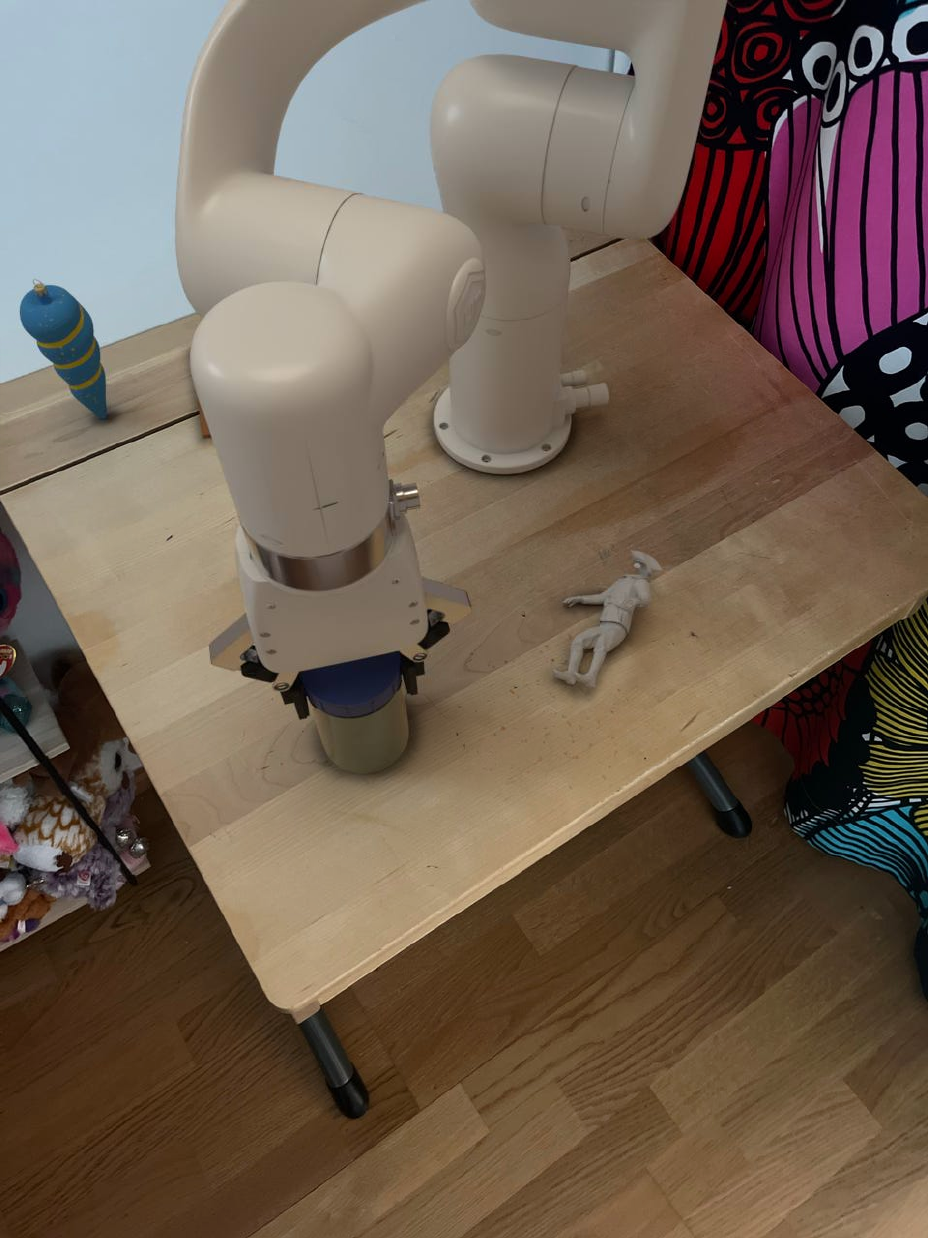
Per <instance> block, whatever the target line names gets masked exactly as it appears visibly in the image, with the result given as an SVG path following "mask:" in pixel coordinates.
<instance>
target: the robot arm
mask: <svg viewBox="0 0 928 1238" xmlns="http://www.w3.org/2000/svg"><path fill="white" fill-rule="evenodd" d="M428 1H429V0H227V1H226V2H225V4H224V6H223V8H222V10H221V12H220V13H219V15H218V17H217V19H216V20H215V23H214V24H213V26H212V28H211V29H210V32H209V34H208V35H207V38H206V40H205V41H204V43H203V45H202V46H201V49H200V51H199V54H198V56H197V59H196V62H195V65H194V67H193V70H192V73H191V77H190V80H189V84H188V87H187V90H186V91H187V92H186V96H185V101H184V108H183V113H182V123H181V133H180V146H179V157H178V168H177V178H176V179H177V180H176V189H175V190H176V192H175V207H174V208H175V209H174V229H175V230H174V248H175V249H174V250H175V260H176V267H177V272H178V276H179V281H180V284H181V287H182V290H183V293H184V295H185V297H186V299H187V301H188V303H189V304H190V305H191V307H192V309H193V310H194V311H195V312H196V314H197V315H198V316H199V317H200V318H201V321H200V322H199V324H198V325H197V327H196V330H195V332H194V334H193V337H192V340H191V345H190V352H189V370H190V374H191V378H192V382H193V386H194V390H195V392H196V395H198V396H197V399H198V398H199V401H200V404H201V407H202V410H203V413H204V416H205V419H206V422H207V425H208V428H209V431H210V434H211V437H210V438H211V440H212V443H213V446H214V449H215V452H216V455H217V459H218V461H219V464H220V467H221V471H222V473H223V476H224V478H225V479H224V480H225V482H226V484H227V487H228V490H229V493H230V496H231V499H232V502H233V506H234V508H235V511H236V513H237V518H238V521H239V526H238V528H237V529H236V532H235V536H234V557H235V567H236V573H237V578H238V584H239V588H240V593H241V597H242V601H243V607H244V610H245V613H243V614H242V615H241V616H240V617H239V618H238V619H237V620H236V621H234V622H233V623H232V624H230V626H228V627H227V628H226V629H225V630H224V631H223V632H221V633H220V634H219V635H218V636H216V637H215V638H214V639H213V640H212V641H211V642H210V643H209V644H208V650H209V651H208V652H209V661H210V664H211V666H213V667H216V668H220V669H224V670H228V671H232V672H236V671H238V672H240V674H241V676H243V677H244V678H248V679H252V680H256V681H260V682H266V683H268V684H270V685H271V689H272V691H274V692H277V693H278V692H279V693H280V696H281V699H282V701H283V704H284V706H287V705H292V704H293V705H294V708H295V711H296V714H297V717H298V720H299V721H300V720H305V719H308V717H309V716H311V713H310V708H309V707H310V706H309V700H308V697H307V696H306V694H304V692H303V689H302V686H301V685H302V684H301V681H300V677H299V671H304V670H309V669H314V668H320V667H325V666H329V665H334V664H339V663H344V662H349V661H353V660H358V659H362V658H367V657H372V656H376V655H381V654H385V653H389V652H394V651H400V654H401V659H402V664H403V672H402V680H403V685H404V688H405V692H406V694H407V695H410V697H411V696H416V695H418V694H419V691H418V680H417V677H420V676H425V675H426V670H425V668H426V667H425V661H426V660H428V659H429V658H430V653H429V650H430V649H432V647H434V646H435V645H436V644H438V642H441V640H442V639H444V638H445V637H446V636H448V635H449V634H450V633H451V627H452V626H456V625H457V624H458V623H459V622H461V621H462V620H463V619H464V618H466V616H468V615H469V614H470V613H471V612H472V611H473V607H472V603H471V600H470V597H469V594H468V591H466V590H464V589H461V588H459V587H455V586H452V585H448V584H445V583H442V582H440V581H436V580H433V579H430V578H427V577H424V576H422V571H421V567H420V562H419V557H418V551H417V547H416V544H415V540H414V535H413V533H412V527H411V526H410V523H409V520H408V517H407V514H408V511H411V510H417V509H421V499H420V493H419V490H418V486H417V483H416V482H411V483H407V484H402V483H401V482H397V483H395V482H394V479H393V478H391V479H389V471H388V463H387V462H388V461H387V453H386V442H385V437H384V435H385V434H384V428H385V424H386V423H387V421H389V419H390V418H391V417H392V416H393V415H394V414H396V412H397V411H398V410H399V409H400V408H401V407H402V406H403V405H404V404H405V403H406V401H407V400H408V399H409V398H410V397H411V396H413V395H414V394H415V393H416V392H417V391H418V390H419V389H420V388H421V387H423V386H424V385H425V384H426V383H427V382H428V381H429V380H430V379H431V378H432V377H433V376H434V375H435V374H437V372H438V371H440V369H442V368H443V366H444V365H446V363H447V362H448V365H449V367H448V368H449V386H447V387H446V388H445V390H444V391H443V392H442V393H441V394H440V396H439V397H438V400H437V401H436V404H435V406H434V412H433V429H434V433H435V438H436V439H437V441H438V443H439V445H440V446H441V448H442V449H443V451H445V452H446V453H447V455H448V456H450V457H451V458H453V460H455V461H456V462H458V463H460V464H462V465H464V466H465V467H467V468H470V469H471V470H475V471H479V472H483V473H488V474H492V475H493V474H494V475H512V474H521V473H525V472H529V471H532V470H534V469H537V468H540V467H541V466H543V465H546V464H548V463H549V462H550V461H552V460H553V459H555V458H556V456H557V455H559V453H560V452H562V450H563V449H564V447H565V445H567V442H568V440H569V437H570V434H571V429H572V428H571V427H572V415H573V414H575V413H576V411H577V409H581V408H585V407H587V408H594V407H600V406H605V405H608V404H609V401H610V393H609V387H608V385H607V384H606V383H605V382H600V383H597V384H595V383H594V384H590V385H587V381H588V380H587V379H588V378H587V377H588V376H587V373H586V370H585V369H580V370H579V369H578V370H572V371H569V372H565V373H561V372H560V371H561V362H562V354H563V343H564V337H565V326H566V317H567V308H568V307H567V306H568V300H569V299H568V297H569V289H570V288H569V287H570V284H571V283H570V281H571V271H572V266H571V265H572V262H571V253H570V247H569V244H568V240H567V237H566V234H565V231H564V229H563V228H565V229H571V230H576V231H581V232H587V233H591V234H596V235H601V236H606V237H610V238H611V237H612V238H616V239H623V240H634V241H638V240H640V241H641V240H646V239H650V238H653V237H655V236H657V235H659V234H660V233H662V232H663V231H664V230H665V229H666V227H667V226H669V224H670V223H671V221H672V220H673V218H674V215H675V213H676V212H677V210H678V207H679V204H680V202H681V199H682V197H683V194H684V191H685V187H686V184H687V180H688V175H689V171H690V168H691V164H692V163H691V162H692V160H693V156H694V155H693V154H694V151H695V146H696V141H697V137H698V132H699V127H700V124H701V118H702V115H703V111H704V105H705V101H706V96H707V92H708V87H709V82H710V80H711V75H712V69H713V66H714V61H715V56H716V52H717V49H718V44H719V39H720V35H721V30H722V25H723V22H724V21H723V20H724V17H725V16H724V15H725V12H726V7H727V3H728V0H469V3H470V6H471V7H472V9H473V11H474V12H475V13H476V15H477V16H479V17H480V18H481V19H482V21H484V22H486V23H488V24H490V25H492V26H494V27H496V28H499V29H502V30H505V31H507V32H511V33H516V34H520V35H524V36H530V37H535V38H539V39H545V40H552V41H557V42H562V43H569V44H576V45H581V46H587V47H594V48H600V49H606V50H611V51H618V52H621V53H623V54H624V55H626V56H627V57H628V58H629V60H630V62H631V64H632V67H633V68H632V69H633V71H634V75H631V74H625V73H624V74H623V73H618V72H613V71H606V70H601V69H595V68H589V67H582V66H579V65H578V64H573V63H566V62H559V61H553V60H547V59H542V58H535V57H530V56H529V57H528V56H523V55H516V54H504V53H501V54H481V55H477V56H473V57H470V58H467V59H464V60H462V61H460V62H459V63H458V64H456V65H455V66H453V68H451V69H450V70H448V72H447V73H446V74H445V76H444V78H443V79H442V80H441V82H440V84H439V85H438V87H437V89H436V92H435V94H434V98H433V101H432V105H431V110H430V116H429V147H430V149H429V150H430V156H431V162H432V167H433V172H434V175H435V181H436V184H437V189H438V193H439V199H440V202H441V203H440V204H441V208H442V211H441V210H437V209H434V208H431V207H426V206H421V205H418V204H413V203H407V202H403V201H397V200H393V199H388V198H383V197H378V196H373V195H368V194H364V193H363V192H358V191H353V190H348V189H344V188H338V187H334V186H328V185H324V184H319V183H313V182H309V181H304V180H299V179H294V178H290V177H285V176H280V175H275V166H276V159H277V151H278V145H279V140H280V135H281V130H282V126H283V123H284V120H285V117H286V114H287V112H288V109H289V106H290V103H291V101H292V100H293V98H294V96H295V95H296V92H297V90H298V89H299V86H300V85H301V83H302V82H303V81H304V79H305V78H306V76H307V75H308V74H309V73H310V71H311V70H312V69H313V68H314V67H315V65H316V64H317V63H318V62H319V61H321V59H322V58H324V57H325V56H326V55H327V53H329V52H330V51H331V50H332V49H333V48H334V47H336V46H337V45H339V44H340V43H342V42H343V41H344V40H346V39H347V38H348V37H350V36H352V35H353V34H356V33H357V32H359V31H361V30H362V29H364V28H367V27H368V26H370V25H372V24H374V23H377V22H378V21H380V20H382V19H385V18H386V17H387V18H388V17H389V16H391V15H394V14H396V13H399V12H401V11H404V10H406V9H408V8H411V7H414V6H417V5H419V4H422V3H425V2H428ZM584 385H585V386H584ZM579 386H584V387H579ZM574 387H579V388H575V389H574Z"/></svg>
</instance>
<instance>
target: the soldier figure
mask: <svg viewBox="0 0 928 1238" xmlns="http://www.w3.org/2000/svg"><path fill="white" fill-rule="evenodd" d="M630 553H631V556H632V562H633V566H634V568H635V570H636V571H637V574H633V573H628V572H627V574H623V575H622V576H621V578H619V579H616V581H614V582H613V583H612V584H611V585H610V586H609V587H608V588H607V589H605V590H604V591H603V592H601V593H596V594H589V595H587V594H586V595H576V596H570V597H568V598H565V600H563V601H562V603H563V604H569V606H568V607H570V608H571V607H572V606H574V605H576V604H577V603H580V604H581V605H603V610H602V613H601V616H600V618H599V623H600V624H599V625H596V626H592V627H589V628H587V629H584V630H583V631H581V632H580V633H578V634H576V635H575V637H574V639H573V640H572V642H571V645H570V646H569V651H570V654H569V661H568V666H567V670H565V671H560V670H558V669H556V668H554V669H552V670H551V673H552V674H553V676H555V678H557V679H559V680H563V681H564V682H565V683H567V684H568V685H572V686H575V685H576V682H578V683H582V684H584V686H586V687H587V688H589V689H595V686H596V684H597V677H598V675H599V672H600V671H601V670H600V669H601V668H602V666H603V664H604V663H605V660H606V657H607V653H608V652H609V651H612V650H613V649H614V648H616V647H617V646H619V645H620V644H621V643H622V642H623V641H624V640H625V638H626V637H627V636H629V633H630V629H631V626H632V620H633V617H634V611H635V609H636V608H637V607H638V608H646V607H649V606H650V605H651V603H652V596H651V595H652V590H651V585H650V583H649V581H648V580H647V579H650V578H652V576H653V573H656V572H664V570H663V568H662V567H661V565H660V563H659V562H658V560H656V558H654V557H653V556H651V555H649V554H647V553H645V552H644V551H643V552H642V551H638V550H631V549H630ZM587 649H593V651H592V652H593V657H592V660H591V664H590V665H589V670H588V671H587V673H585V674H580V672H579V669H580V665H581V662H582V659H583V656H584V650H587Z"/></svg>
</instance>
